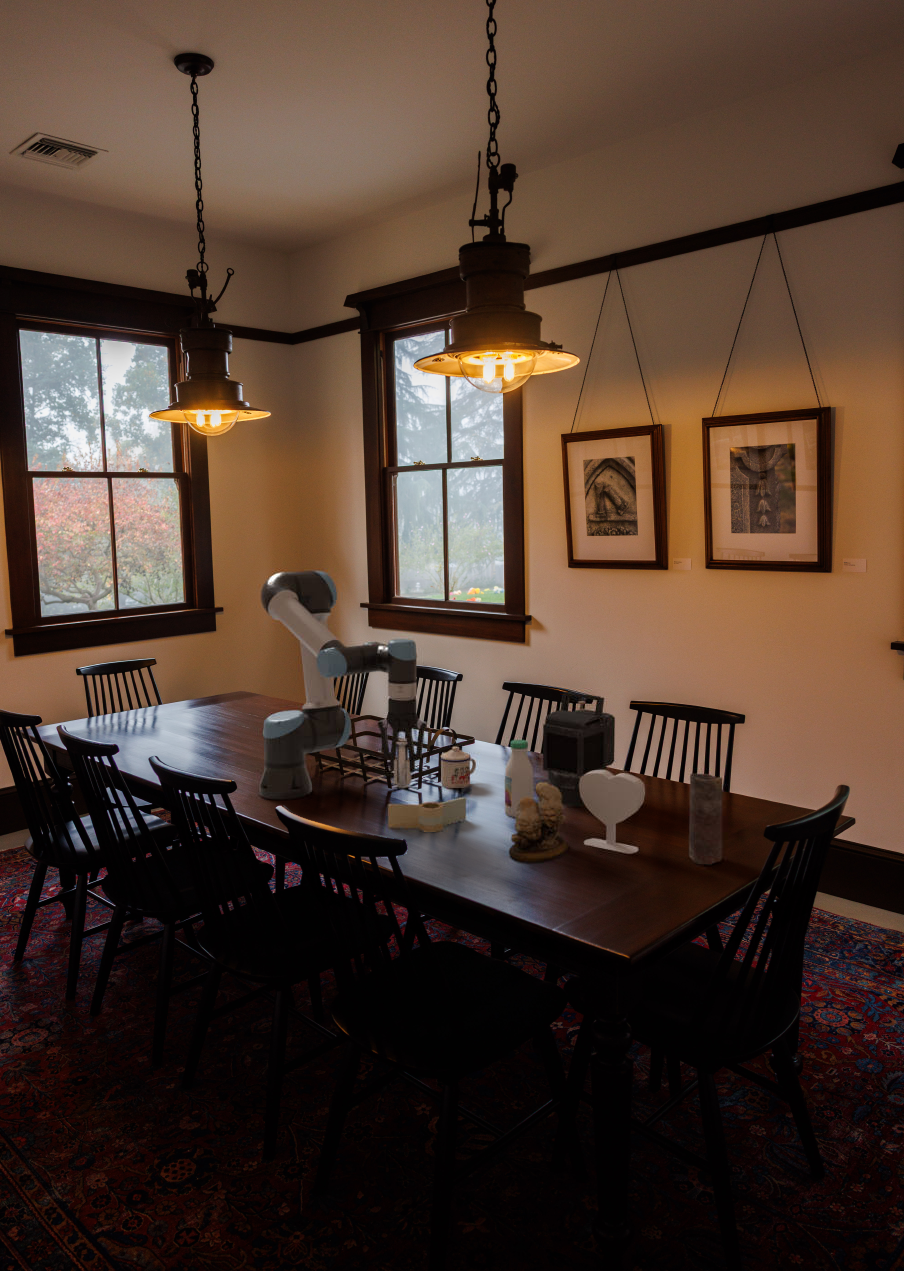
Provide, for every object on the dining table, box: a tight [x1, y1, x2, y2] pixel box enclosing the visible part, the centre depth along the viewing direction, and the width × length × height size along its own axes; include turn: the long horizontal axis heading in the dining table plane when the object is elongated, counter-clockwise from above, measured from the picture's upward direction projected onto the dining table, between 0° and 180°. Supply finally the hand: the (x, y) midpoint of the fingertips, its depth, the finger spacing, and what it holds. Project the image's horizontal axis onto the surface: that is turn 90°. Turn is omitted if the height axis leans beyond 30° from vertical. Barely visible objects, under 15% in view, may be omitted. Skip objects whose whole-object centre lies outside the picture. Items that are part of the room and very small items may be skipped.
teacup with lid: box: [440, 746, 477, 789], centre depth 261 cm, size 12×9×12 cm
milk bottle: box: [504, 739, 535, 818], centre depth 232 cm, size 8×8×20 cm
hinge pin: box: [396, 738, 409, 789], centre depth 233 cm, size 4×4×13 cm
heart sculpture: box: [579, 769, 646, 855], centre depth 208 cm, size 16×5×18 cm, turn 57°
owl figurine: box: [508, 781, 569, 864], centre depth 205 cm, size 18×12×17 cm, turn 139°
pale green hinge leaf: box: [418, 796, 467, 826], centre depth 224 cm, size 14×6×6 cm, turn 128°
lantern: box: [542, 691, 616, 807], centre depth 245 cm, size 15×18×30 cm
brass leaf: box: [387, 801, 445, 833], centre depth 223 cm, size 14×6×6 cm, turn 83°
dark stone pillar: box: [688, 773, 723, 866], centre depth 199 cm, size 8×7×20 cm
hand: (402, 782), depth 234 cm, fingers closed on hinge pin, 3 cm apart
